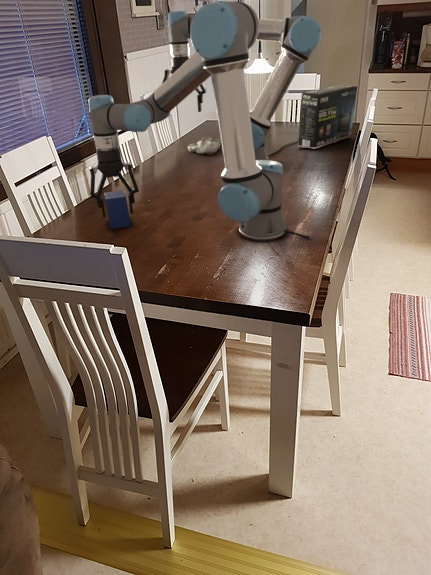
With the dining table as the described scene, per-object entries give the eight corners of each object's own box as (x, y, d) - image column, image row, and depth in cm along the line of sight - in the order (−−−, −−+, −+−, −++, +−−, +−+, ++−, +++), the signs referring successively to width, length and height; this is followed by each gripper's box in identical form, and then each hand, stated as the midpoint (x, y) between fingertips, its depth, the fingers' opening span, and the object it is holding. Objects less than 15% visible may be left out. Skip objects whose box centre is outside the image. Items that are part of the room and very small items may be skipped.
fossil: (211, 149, 226) (191, 129, 229) (201, 167, 233) (181, 148, 236) (230, 147, 240) (211, 129, 243) (220, 164, 247) (201, 146, 250)
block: (109, 221, 162) (104, 192, 156) (128, 219, 163) (124, 190, 158) (110, 229, 156) (105, 199, 151) (130, 226, 158) (126, 196, 152)
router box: (314, 151, 231) (318, 94, 217) (296, 148, 237) (299, 92, 224) (352, 138, 251) (358, 85, 238) (335, 135, 258) (340, 83, 245)
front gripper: (73, 154, 141) (86, 222, 153) (142, 147, 145) (150, 213, 157) (73, 148, 147) (86, 214, 159) (139, 141, 152) (147, 206, 163)
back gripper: (147, 57, 184) (153, 113, 195) (208, 55, 178) (210, 113, 189) (154, 56, 190) (159, 110, 201) (212, 54, 185) (214, 109, 196)
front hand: (118, 214), depth 158 cm, fingers open, 9 cm apart
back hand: (184, 111), depth 195 cm, fingers open, 13 cm apart
